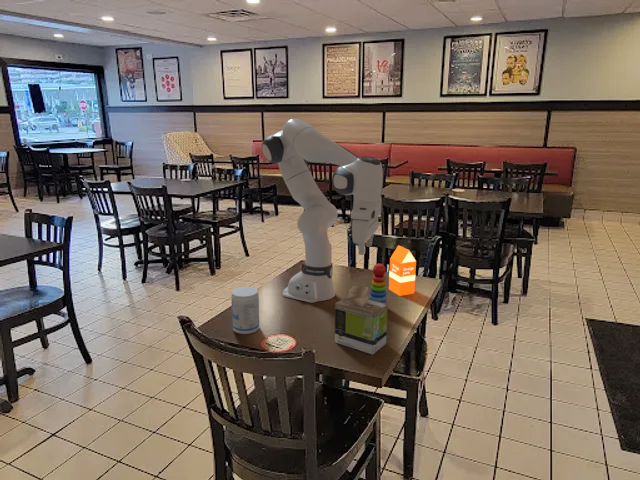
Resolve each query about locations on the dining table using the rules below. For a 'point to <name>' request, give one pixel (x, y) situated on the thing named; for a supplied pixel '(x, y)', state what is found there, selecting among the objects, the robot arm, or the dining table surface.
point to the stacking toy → (378, 284)
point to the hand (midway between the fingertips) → (365, 250)
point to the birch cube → (358, 296)
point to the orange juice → (402, 272)
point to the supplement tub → (245, 310)
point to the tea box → (361, 325)
